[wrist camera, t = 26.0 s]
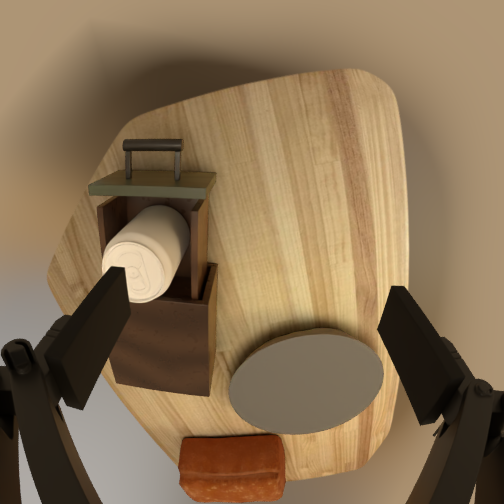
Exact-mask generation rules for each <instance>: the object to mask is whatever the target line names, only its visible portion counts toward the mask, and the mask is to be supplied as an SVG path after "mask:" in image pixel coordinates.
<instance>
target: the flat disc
mask: <svg viewBox="0 0 504 504" xmlns="http://www.w3.org/2000/svg"><path fill="white" fill-rule="evenodd" d="M383 376H384V372H383V366H382V362H381V360H380V358H379V357H378V355H377V354H376V353H375V352H374V351H373V350H372V349H371V348H370V347H368V346H367V345H365V344H364V343H362V342H360V341H358V340H357V339H355V338H353V337H352V336H351V335H349V334H347V333H345V332H344V331H341V330H335V329H332V328H313V329H311V330H306V331H299V332H293V333H290V334H288V335H284V336H280V337H276V338H274V339H272V340H270V341H267V342H266V343H264V344H263V345H262V346H260V347H259V348H257V349H256V350H255V351H254V352H252V353H251V354H250V355H249V356H248V357H247V358H246V359H245V361H244V362H243V364H242V365H241V366H240V367H239V368H238V369H237V371H236V372H235V374H234V375H233V377H232V379H231V382H230V386H229V399H230V402H231V405H232V407H233V409H234V410H235V412H236V413H237V414H238V415H239V416H240V417H241V418H242V419H243V420H245V421H246V422H248V423H249V424H251V425H253V426H255V427H257V428H259V429H262V430H265V431H269V432H273V433H279V434H290V435H296V434H309V433H315V432H320V431H324V430H328V429H331V428H334V427H336V426H338V425H341V424H343V423H345V422H347V421H349V420H351V419H352V418H354V417H355V416H357V415H358V414H360V413H361V412H362V411H363V410H365V409H366V408H367V407H368V406H369V405H370V404H371V402H372V401H373V400H374V399H375V397H376V396H377V394H378V392H379V390H380V388H381V386H382V382H383Z"/></svg>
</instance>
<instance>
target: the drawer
mask: <svg viewBox="0 0 504 504" xmlns="http://www.w3.org/2000/svg"><path fill="white" fill-rule="evenodd" d="M183 149H184V140H183V139H125V140H124V141H123V150H124V151H126V152H125V164H126V170H118V171H116V172H114V173H112V174H110V175H108V176H106V177H104V178H102V179H100V180H98V181H96V182H94V183H92V184H90V185H88V189H89V195H97V196H113V197H111V198H110V199H108V200H107V201H105V202H104V203H102V204H101V205H99V206H98V207H97V215H98V226H99V236H100V244H101V253H102V260H103V255H104V251H105V248H106V246H107V245H108V243H109V242H110V241H111V240H112V239H113V238H114V237H115V236H116V235H117V234H118V233H119V232H120V231H121V230H122V229H123V228H124V227H125V226H126V225H127V224H128V223H129V222H130V221H131V220H132V219H133V218H135V217H136V216H137V215H138V214H139V213H140V212H141V211H142V210H144V209H145V208H147V207H150V206H153V205H164V206H168V207H170V208H173V209H174V210H176V211H177V212H179V213H180V214H181V215H182V216H183V218H184V219H185V221H186V222H187V224H188V227H189V231H190V241H189V245H188V247H187V249H186V251H185V254H184V256H183V258H182V260H181V262H180V264H179V266H178V268H177V271H176V273H175V275H174V277H173V279H172V281H171V284H170V286H169V287H168V289H167V290H166V291H165V292H164V293H163V294H162V295H160V296H159V297H169V298H179V299H190V300H201V301H202V297H203V293H204V290H205V286H206V282H207V243H208V206H209V193H210V191H211V189H212V187H213V186H214V184H215V182H216V173H210V172H187V171H181V151H183ZM132 151H176V152H175V171H147V170H132Z"/></svg>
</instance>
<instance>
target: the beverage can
mask: <svg viewBox="0 0 504 504" xmlns="http://www.w3.org/2000/svg"><path fill="white" fill-rule="evenodd" d="M189 241H190V231H189V227H188V224H187V222H186V221H185V219H184V218H183V216H182V215H181V214H180V213H179V212H177V211H176V210H174V209H173V208H170V207H168V206H164V205H153V206H150V207H147V208H145V209H144V210H142V211H141V212H140V213H139V214H138V215H137V216H136V217H135V218H133V219H132V220H131V221H130V222H129V223H128V224H127V225H126V226H125V227H124V228H123V229H122V230H121V231H120V232H119V233H118V234H117V235H116V236H115V237H114V238H113V239H112V240H111V241H110V242H109V243H108V245H107V246H106V248H105V251H104V255H103V261H102V272H103V275H104V274H105V273H106V271H107V270H108V269H109V268H110V267H111V266H116V267H125V272H126V281H127V288H128V296H129V301H130V302H134V303H145V302H149V301H151V300H153V299H155V298H157V297H159V296H160V295H162V294H163V293H164V292H165V291H166V290H167V289H168V287H169V286H170V284H171V281H172V279H173V277H174V275H175V273H176V271H177V268H178V266H179V264H180V262H181V260H182V258H183V256H184V254H185V251H186V249H187V247H188V245H189Z"/></svg>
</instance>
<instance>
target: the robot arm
mask: <svg viewBox="0 0 504 504" xmlns="http://www.w3.org/2000/svg"><path fill="white" fill-rule="evenodd" d="M130 315H131V309H130V303H129V296H128V288H127V281H126V272H125V267H116V266H111V267H110V268H109V269H108V270H107V271H106V273H105V274H104V275H103V276H102V278H101V279H100V280H99V281H98V283H97V284H96V285H95V286H94V288H93V289H92V290H91V291H90V293H89V294H88V295H87V296H86V298H85V299H84V300H83V301H82V303H81V304H80V305H79V307H78V308H77V309H76V311H75V312H74V313H73V315H72V316H70V315H64V316H62V317H61V318H59V319H58V320H56V321H55V323H54V324H53V325H52V327H51V328H50V330H48V332H47V333H46V336H44V337H43V338H42V340H41V341H40V342H39V344H38V345H37V346H36V348H35V349H34V350H33V348H32V346H31V344H30V342H29V341H27V340H25V339H14V340H12V341H10V342H8V343H7V344H6V345H4V347H3V349H2V350H1V356H2V358H3V361H4V362H5V364H6V366H0V504H22V503H21V493H20V479H19V457H18V456H19V454H18V453H19V452H18V439H19V438H18V437H19V431H20V435H21V439H22V443H23V447H24V451H25V454H26V458H27V461H28V465H29V468H30V471H31V474H32V477H33V480H34V483H35V486H36V489H37V491H38V494H39V497H40V500H41V502H42V504H103V503H102V502H101V500H100V498H99V497H98V494H97V492H96V490H95V488H94V487H93V484H92V482H91V481H90V479H89V477H88V474H87V473H86V470H85V468H84V466H83V464H82V461H81V459H80V457H79V455H78V452H77V450H76V447H75V445H74V443H73V440H72V438H71V435H70V433H69V430H68V427H67V425H66V422H65V419H64V417H63V414H62V411H61V408H60V406H59V404H58V403H59V401H60V399H61V397H62V398H63V400H64V402H65V404H66V405H67V406H69V407H72V408H76V409H79V410H83V409H84V407H85V405H86V402H87V400H88V398H89V396H90V394H91V391H92V390H93V388H94V385H95V383H96V381H97V379H98V377H99V375H100V373H101V371H102V369H103V367H104V365H105V363H106V361H107V359H108V357H109V355H110V353H111V351H112V349H113V347H114V346H115V344H116V342H117V340H118V338H119V336H120V334H121V332H122V330H123V328H124V326H125V325H126V323H127V321H128V319H129V317H130ZM377 330H378V332H379V334H380V336H381V338H382V340H383V343H384V345H385V347H386V349H387V351H388V353H389V355H390V357H391V360H392V362H393V364H394V366H395V368H396V371H397V373H398V375H399V377H400V379H401V382H402V384H403V386H404V388H405V391H406V393H407V395H408V397H409V400H410V402H411V405H412V407H413V409H414V412H415V414H416V416H417V419H418V421H419V424H420V426H421V425H426V424H431V423H435V422H436V420H437V419H438V418H439V416H440V415H441V413H442V415H443V418H444V421H443V422H442V424H441V425H440V426H439V428H438V429H437V430H436V431H435V433H434V434H433V436H435V435H436V434H437V433H438V434H437V436H436V439H435V441H434V444H433V446H432V449H431V451H430V454H429V456H428V458H427V461H426V463H425V465H424V468H423V470H422V472H421V474H420V476H419V478H418V480H417V482H416V484H415V486H414V488H413V491H412V492H411V495H410V496H409V498H408V500H407V502H406V504H469V502H470V499H471V496H472V493H473V490H474V487H475V484H476V492H475V503H474V504H504V391H496V390H493V388H492V386H491V385H490V384H489V383H488V382H486V381H484V380H481V379H475V377H474V376H473V374H472V373H471V371H470V370H469V368H468V366H467V365H466V363H465V362H464V360H463V359H461V356H460V355H459V353H457V350H456V348H455V347H454V346H453V344H452V343H451V342H450V341H449V340H447V339H446V338H445V337H440V336H439V334H438V333H437V331H436V330H435V329H434V327H433V326H432V324H431V323H430V321H429V320H428V318H427V317H426V316H425V314H424V313H423V311H422V310H421V308H420V307H419V306H418V304H417V303H416V302H415V300H414V299H413V297H412V296H411V295H410V293H409V292H408V291H407V289H406V288H405V287H404V286H391V289H390V292H389V295H388V298H387V302H386V305H385V308H384V311H383V314H382V317H381V320H380V323H379V326H378V328H377Z"/></svg>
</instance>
